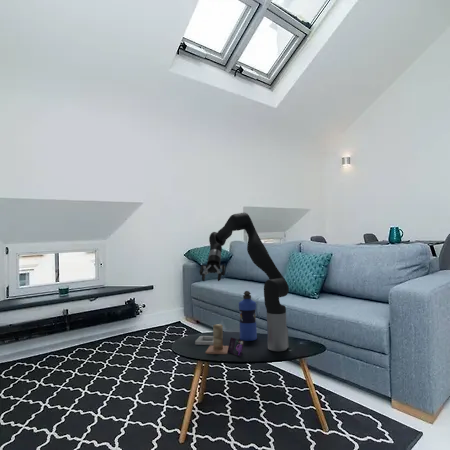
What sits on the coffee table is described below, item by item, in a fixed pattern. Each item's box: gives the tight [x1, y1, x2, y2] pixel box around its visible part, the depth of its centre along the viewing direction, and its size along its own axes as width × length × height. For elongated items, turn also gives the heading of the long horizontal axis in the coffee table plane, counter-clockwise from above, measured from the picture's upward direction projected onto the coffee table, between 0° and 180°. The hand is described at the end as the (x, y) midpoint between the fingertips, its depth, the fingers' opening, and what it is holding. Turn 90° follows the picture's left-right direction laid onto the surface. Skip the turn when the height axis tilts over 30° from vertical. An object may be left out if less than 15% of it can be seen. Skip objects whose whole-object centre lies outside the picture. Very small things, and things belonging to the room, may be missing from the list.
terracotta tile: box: [205, 345, 229, 355], centre depth 160 cm, size 10×10×1 cm
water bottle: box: [238, 290, 258, 342], centre depth 179 cm, size 9×9×25 cm
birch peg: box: [212, 323, 224, 350], centre depth 160 cm, size 4×4×11 cm
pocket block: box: [194, 335, 213, 346], centre depth 174 cm, size 10×10×2 cm
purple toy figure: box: [228, 337, 245, 357], centre depth 156 cm, size 7×5×9 cm
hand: (210, 280), depth 186 cm, fingers open, 8 cm apart
